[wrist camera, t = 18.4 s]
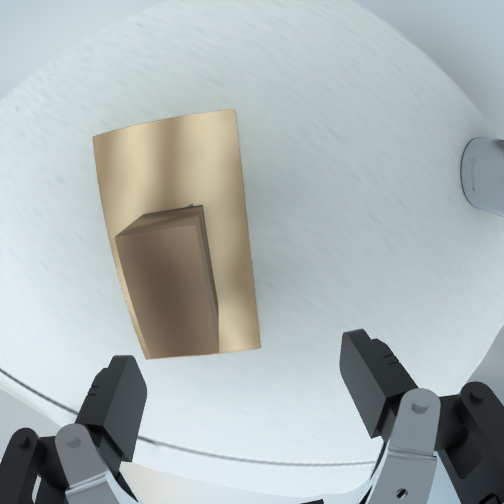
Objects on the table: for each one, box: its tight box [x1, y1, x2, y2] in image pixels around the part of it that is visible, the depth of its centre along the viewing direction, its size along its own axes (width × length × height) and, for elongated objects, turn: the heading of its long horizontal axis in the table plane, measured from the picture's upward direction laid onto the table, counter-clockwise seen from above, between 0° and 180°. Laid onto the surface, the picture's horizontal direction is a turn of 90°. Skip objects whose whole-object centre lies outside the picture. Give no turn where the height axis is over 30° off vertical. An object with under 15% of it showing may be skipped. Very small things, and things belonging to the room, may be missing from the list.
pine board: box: [93, 109, 261, 359], centre depth 24 cm, size 12×22×2 cm, turn 6°
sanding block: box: [114, 205, 219, 358], centre depth 20 cm, size 5×9×7 cm, turn 6°
